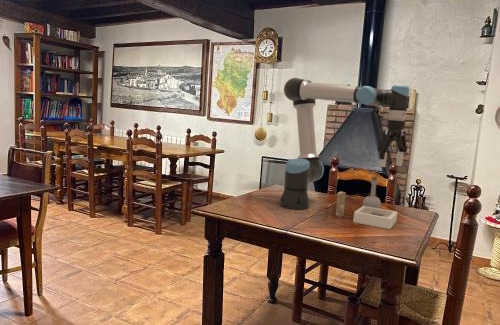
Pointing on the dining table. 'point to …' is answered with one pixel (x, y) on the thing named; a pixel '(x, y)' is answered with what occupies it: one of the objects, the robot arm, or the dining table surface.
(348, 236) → the dining table surface
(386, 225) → the white square tray
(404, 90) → the robot arm
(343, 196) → the tapered beige beam
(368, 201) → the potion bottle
